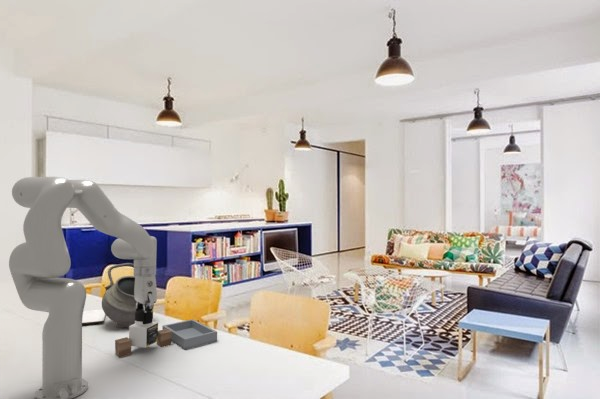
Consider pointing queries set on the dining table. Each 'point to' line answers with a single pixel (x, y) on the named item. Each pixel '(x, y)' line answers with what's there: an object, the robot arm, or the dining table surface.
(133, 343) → the medicine bottle
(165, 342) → the right walnut block
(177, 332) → the tray
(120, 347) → the left walnut block
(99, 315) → the plate
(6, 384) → the dining table surface
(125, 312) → the pot
